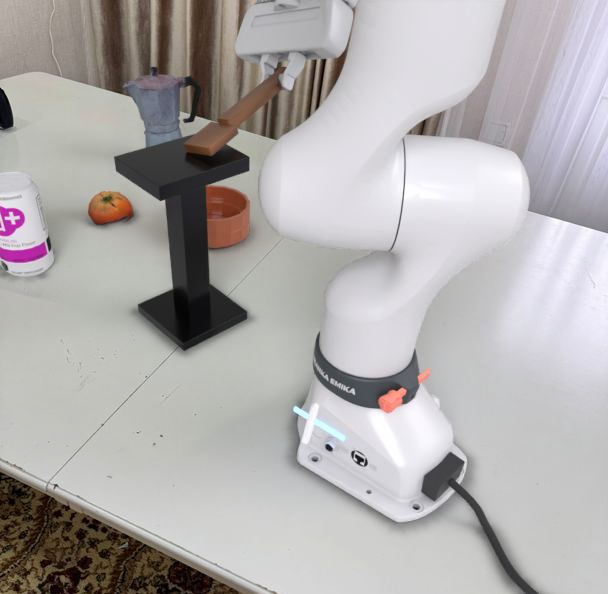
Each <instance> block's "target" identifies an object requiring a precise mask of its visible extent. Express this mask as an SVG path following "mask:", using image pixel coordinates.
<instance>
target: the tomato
mask: <svg viewBox="0 0 608 594" xmlns="http://www.w3.org/2000/svg"><path fill="white" fill-rule="evenodd" d="M87 212H88V214H87V215H88V216H89V217H90V219H91V221H92V222H93V223H94V224H95V225H97V226H98V225H103V224H106V223H109V222H115V223H116V221H119V220H120V219H123V218H124V217H128V219H127V221H126V222H128V221H129V220H131V219H132V217H133V216H135V215H134V209H133V205H132V203H131V201H130V200H129V198H127V196H125V195H124V194H122V193H121V192H119V191H114V190H113V191H112V190H108V191H106V190H103V191H100V192H98V193H96V194H95V195H94V196H93V197H92V198H91V199H90V202H89V203H88V210H87Z"/></svg>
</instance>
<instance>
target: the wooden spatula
mask: <svg viewBox="0 0 608 594" xmlns="http://www.w3.org/2000/svg"><path fill="white" fill-rule="evenodd" d="M286 68H287V66H281V67H279V68H278V69H277V70H276V71H274V73H273V74H272V75H271V76H269V77H268V78H267V79H266V80H264V81H263V82H262V83H261V82H260V83H261V84H260V83H259V84H257V86H256V87H254V88H253V89H251V90H250V91H249V92H248V93H247V94H246V95H244V96H243V97H242V98H240V100H238V101H237V102H235V104H233V105H232V106H231V107H229V108H228V109H227V110H226V111H225V112H223V113H222V114H220V115H219V116H218V117H217V118H216V119H217V122H216V121H215V122H214V121H210V122H209V123H208V124H206V125H205V126H204V127H202V128H201V129H200V130H199V131H198V132H196V133H194V134H195V135H194V136H193V137H191V138H190V139H189V140H188V141H186V142H185V143H184V147H185V150H186V152H189V153H195V154H201V155H207V156H213V155H214V154H215V153H216V152H217V151H219V150H220V149H221V148H222V147H223V146H224V145H226V144H227V145H228V143H229V142H231V141H232V140H233V139H234V138H235V137H237V135H239V129H238V127H240V126H241V125H242V124H243V123H244V122H245V121H247V120H248V119H249V118H250V117H252V116H253V114H255V113H256V112H257V111H259V109H261V108H263V106H264V105H265V104H267V103H268V102H269V101H270V100H271V99H273V98H274V97H275V96H276V95H278V94H279V93H280V92H281V91H283V90H282V89H280V88H278V86H277V83H278V80H279V74H284V71H285V70H286Z"/></svg>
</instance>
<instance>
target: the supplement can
mask: <svg viewBox="0 0 608 594" xmlns="http://www.w3.org/2000/svg"><path fill="white" fill-rule="evenodd" d="M54 262H55V255H54V251H53V246H52V242H51V238H50V233H49V229H48V224H47V220H46V217H45V211H44V207H43V202H42V198H41V194H40V191H39V186H38V185H37V184H36V183H35V182H34V181H33V180H32V177H31V176H30V175H29V174H26V173H24V172H20V171H19V172H18V171H3V172H0V266H1V268H2V269H3V270H4V272H6V273H8V274H9V275H12V276H14V277H19V278H30V277H34V276H35V277H36V276H38V275H41V274H43V273H45V272H46V271H47V270H49V269H50V268H51V266H52V265H53V264H54Z"/></svg>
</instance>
